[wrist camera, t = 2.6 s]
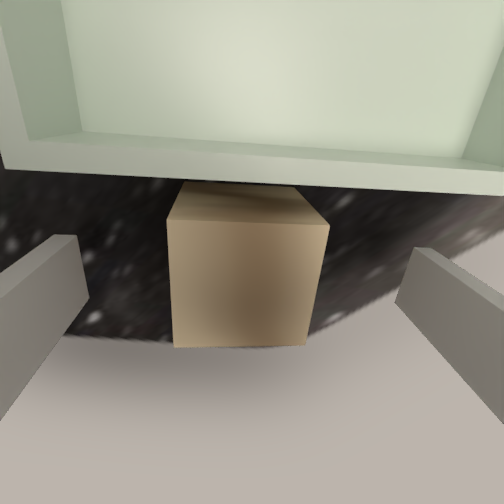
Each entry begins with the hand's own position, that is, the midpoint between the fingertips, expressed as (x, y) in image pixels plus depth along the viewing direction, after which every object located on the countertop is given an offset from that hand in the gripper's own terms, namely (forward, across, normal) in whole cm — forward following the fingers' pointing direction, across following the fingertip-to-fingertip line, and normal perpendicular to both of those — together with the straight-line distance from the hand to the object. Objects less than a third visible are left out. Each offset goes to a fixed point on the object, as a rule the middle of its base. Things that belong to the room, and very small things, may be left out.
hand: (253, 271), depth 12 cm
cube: (+3, 0, 0) cm, 3 cm away
